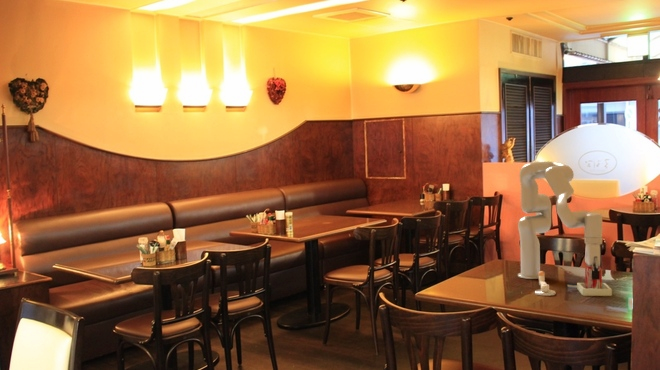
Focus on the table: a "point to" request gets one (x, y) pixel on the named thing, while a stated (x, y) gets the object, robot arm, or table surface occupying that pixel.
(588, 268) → the soda can
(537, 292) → the crank base
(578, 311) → the table surface
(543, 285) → the crank
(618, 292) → the table surface
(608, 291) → the tray
